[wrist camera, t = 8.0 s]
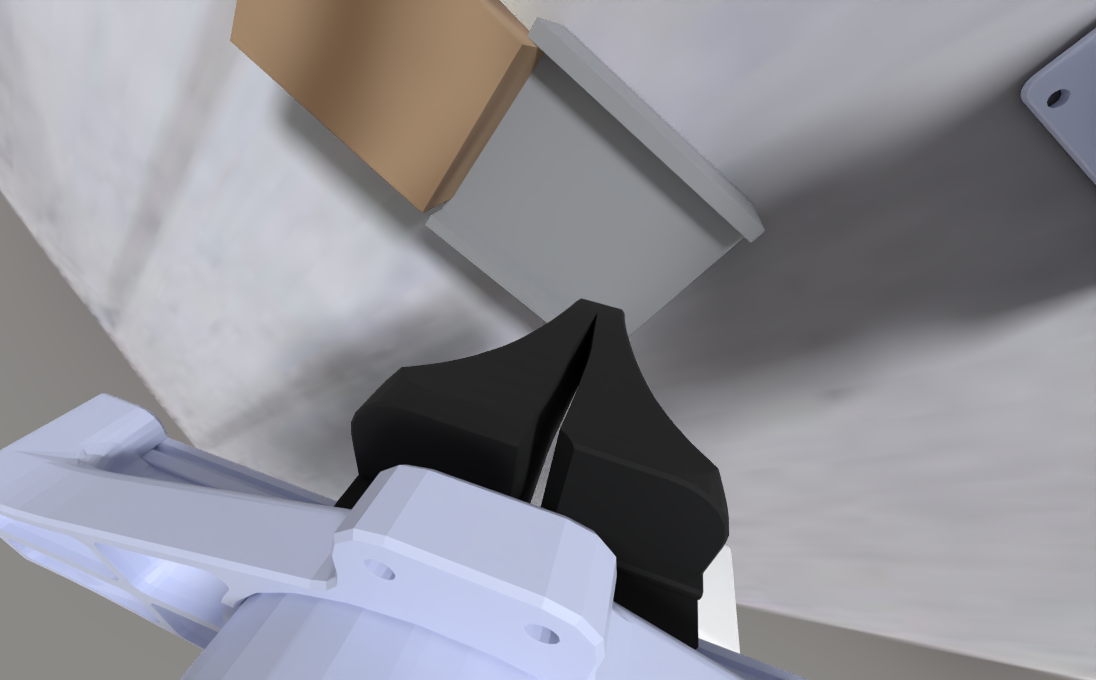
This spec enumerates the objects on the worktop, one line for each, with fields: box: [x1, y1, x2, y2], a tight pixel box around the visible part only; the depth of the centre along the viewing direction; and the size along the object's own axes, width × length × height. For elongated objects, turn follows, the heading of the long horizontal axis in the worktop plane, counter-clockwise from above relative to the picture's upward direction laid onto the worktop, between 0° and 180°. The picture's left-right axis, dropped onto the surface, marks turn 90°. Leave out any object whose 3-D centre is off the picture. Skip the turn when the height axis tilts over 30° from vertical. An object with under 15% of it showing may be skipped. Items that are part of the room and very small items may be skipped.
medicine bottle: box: [698, 545, 740, 654], centre depth 27 cm, size 7×7×12 cm
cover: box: [230, 0, 545, 213], centre depth 15 cm, size 9×7×2 cm
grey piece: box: [425, 18, 765, 337], centre depth 18 cm, size 10×9×4 cm
